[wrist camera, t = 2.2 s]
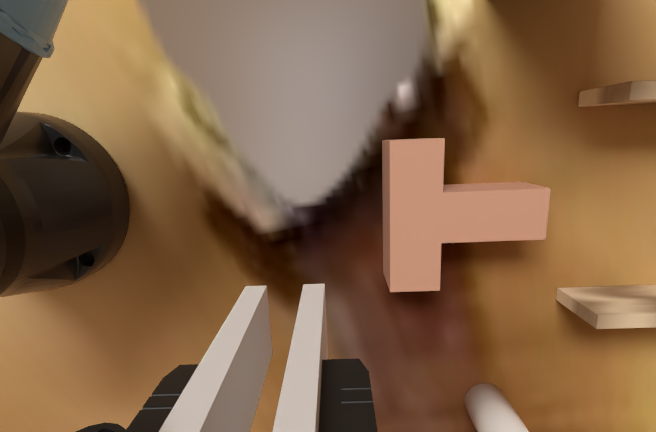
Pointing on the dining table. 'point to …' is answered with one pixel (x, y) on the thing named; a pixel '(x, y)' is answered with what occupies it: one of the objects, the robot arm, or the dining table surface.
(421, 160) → the t block
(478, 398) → the cylinder
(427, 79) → the dining table surface
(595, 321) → the bay
